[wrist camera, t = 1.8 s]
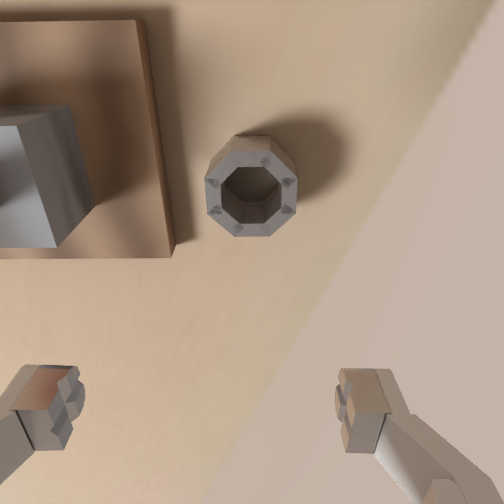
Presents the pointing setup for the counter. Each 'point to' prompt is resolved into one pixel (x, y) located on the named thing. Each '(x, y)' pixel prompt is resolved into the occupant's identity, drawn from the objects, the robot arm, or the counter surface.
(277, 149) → the collar
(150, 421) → the counter surface
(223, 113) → the counter surface
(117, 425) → the counter surface
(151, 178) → the post stand
